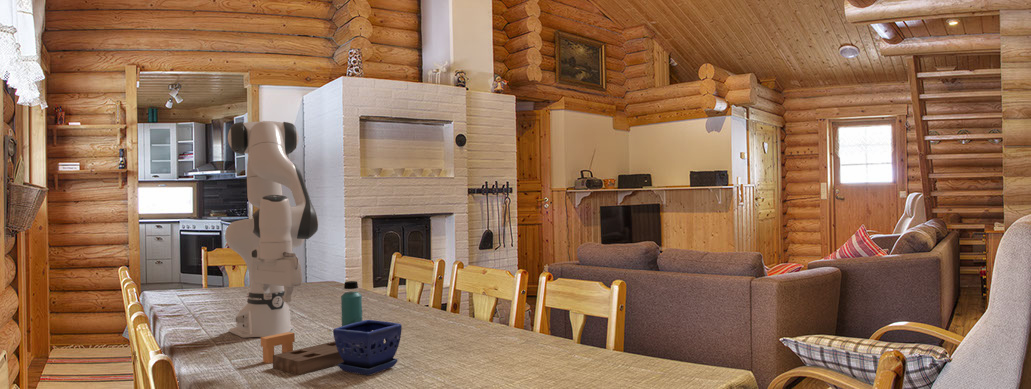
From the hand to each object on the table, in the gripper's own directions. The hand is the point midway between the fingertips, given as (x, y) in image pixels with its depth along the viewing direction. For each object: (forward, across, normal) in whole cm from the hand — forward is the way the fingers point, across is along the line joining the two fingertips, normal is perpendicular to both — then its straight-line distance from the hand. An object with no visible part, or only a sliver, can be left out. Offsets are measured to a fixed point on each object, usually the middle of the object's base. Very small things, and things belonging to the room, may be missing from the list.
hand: (277, 300), depth 194 cm
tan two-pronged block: (+17, 0, 0) cm, 17 cm away
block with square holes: (+17, -12, -6) cm, 22 cm away
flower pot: (+18, -30, -8) cm, 35 cm away
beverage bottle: (+17, -4, -23) cm, 29 cm away
